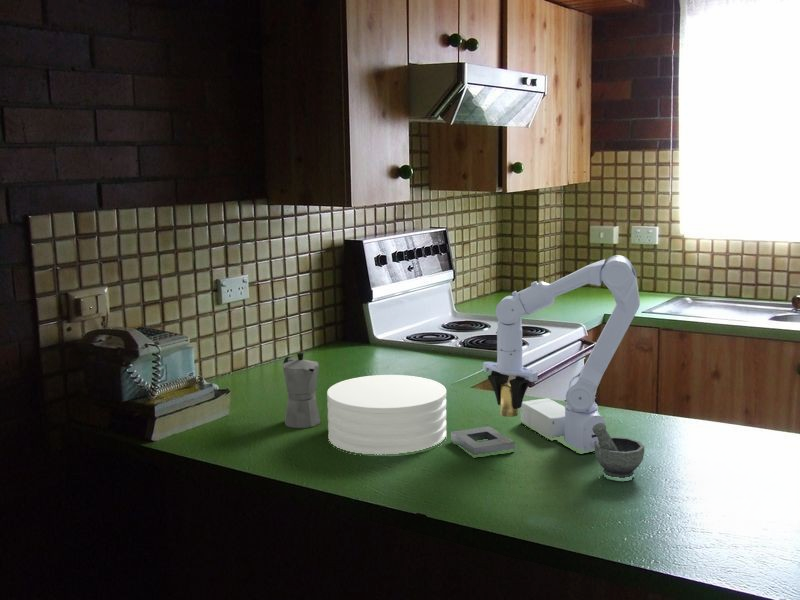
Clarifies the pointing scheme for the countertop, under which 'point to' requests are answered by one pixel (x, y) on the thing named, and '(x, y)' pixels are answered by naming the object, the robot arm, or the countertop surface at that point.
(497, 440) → the jig
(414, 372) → the countertop surface
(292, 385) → the coffeepot
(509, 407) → the cylinder
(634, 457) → the mortar and pestle
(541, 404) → the skincare box
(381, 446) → the plate stack
